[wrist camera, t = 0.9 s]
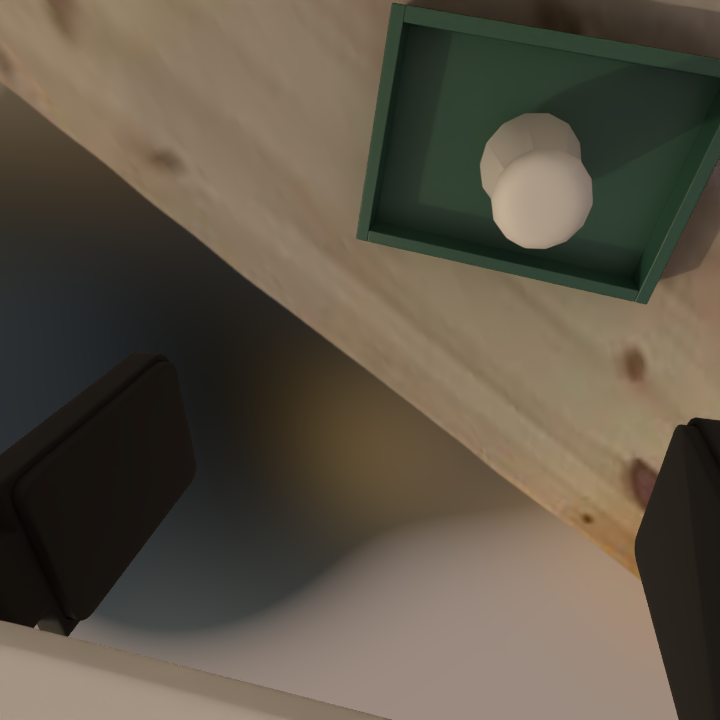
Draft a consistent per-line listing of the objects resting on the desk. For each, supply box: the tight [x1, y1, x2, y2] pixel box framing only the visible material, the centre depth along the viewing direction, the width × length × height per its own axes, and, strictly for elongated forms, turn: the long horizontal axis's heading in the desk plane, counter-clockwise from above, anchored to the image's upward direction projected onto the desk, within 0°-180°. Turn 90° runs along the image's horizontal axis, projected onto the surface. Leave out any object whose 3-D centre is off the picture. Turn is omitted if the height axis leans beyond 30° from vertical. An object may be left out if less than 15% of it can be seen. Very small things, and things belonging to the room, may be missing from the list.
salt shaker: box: [480, 113, 593, 249], centre depth 28 cm, size 6×6×13 cm
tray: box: [356, 3, 720, 304], centre depth 32 cm, size 20×14×3 cm
